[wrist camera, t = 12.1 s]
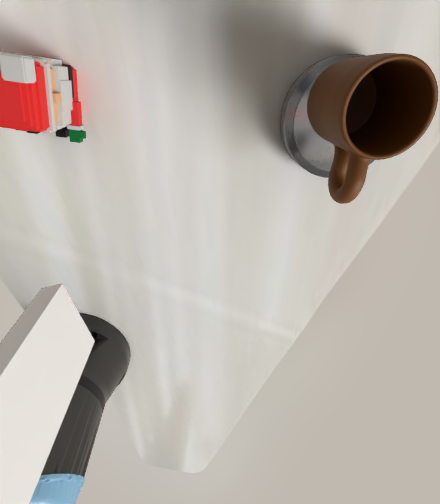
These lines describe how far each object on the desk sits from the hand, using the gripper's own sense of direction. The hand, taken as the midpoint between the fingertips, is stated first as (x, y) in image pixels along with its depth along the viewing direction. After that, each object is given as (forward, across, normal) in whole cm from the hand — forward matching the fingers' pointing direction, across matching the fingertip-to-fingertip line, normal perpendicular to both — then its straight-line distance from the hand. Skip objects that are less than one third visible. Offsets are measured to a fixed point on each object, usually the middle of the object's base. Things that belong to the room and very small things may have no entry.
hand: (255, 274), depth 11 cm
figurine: (+29, -16, +8) cm, 34 cm away
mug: (+26, +12, -1) cm, 29 cm away
